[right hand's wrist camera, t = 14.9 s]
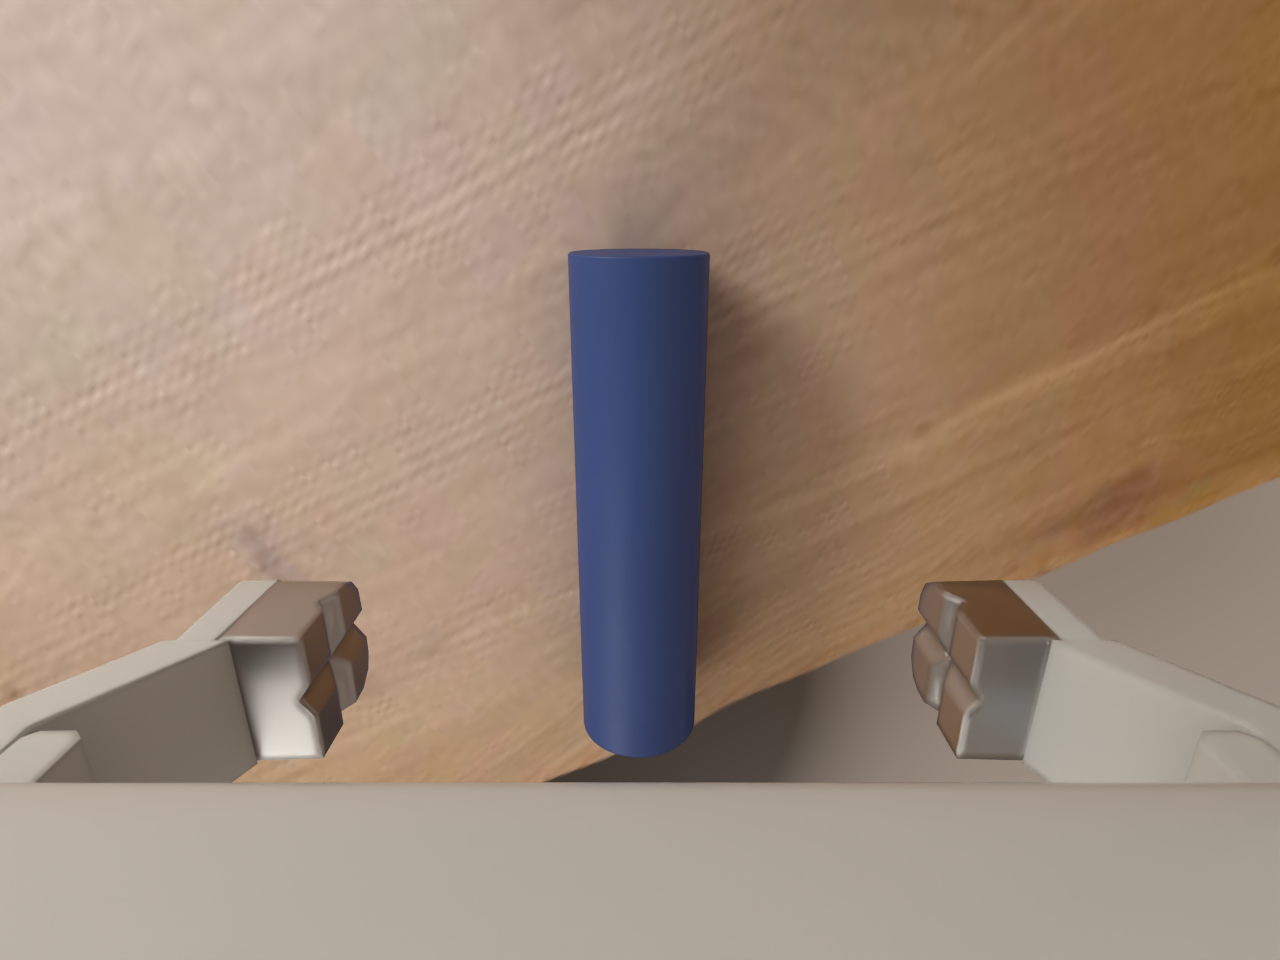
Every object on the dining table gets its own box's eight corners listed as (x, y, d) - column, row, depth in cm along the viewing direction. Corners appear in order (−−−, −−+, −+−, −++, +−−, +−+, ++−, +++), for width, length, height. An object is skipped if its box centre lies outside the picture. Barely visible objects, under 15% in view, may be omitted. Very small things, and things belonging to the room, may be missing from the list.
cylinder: (574, 248, 33) (560, 256, 28) (703, 248, 33) (716, 256, 28) (588, 684, 42) (579, 758, 36) (690, 684, 42) (698, 758, 36)
